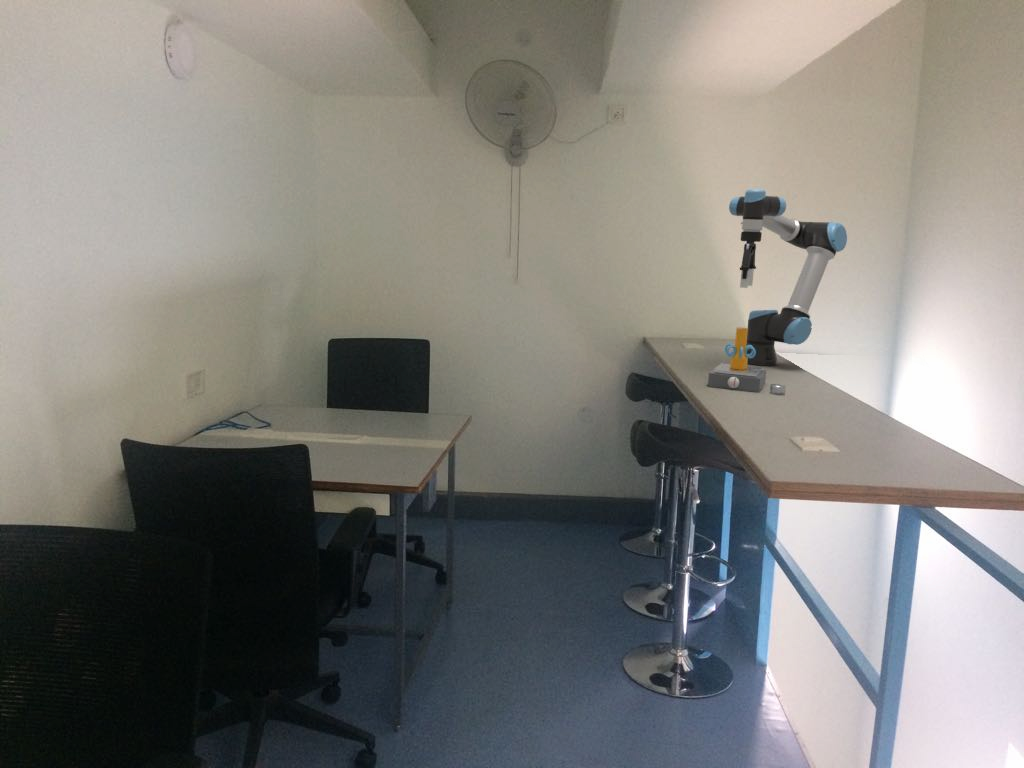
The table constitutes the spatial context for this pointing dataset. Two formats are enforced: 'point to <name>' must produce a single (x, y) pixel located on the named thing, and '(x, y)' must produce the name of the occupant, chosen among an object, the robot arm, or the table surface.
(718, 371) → the pan
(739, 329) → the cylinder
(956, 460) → the table surface
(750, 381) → the base
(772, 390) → the cylinder
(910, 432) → the table surface
